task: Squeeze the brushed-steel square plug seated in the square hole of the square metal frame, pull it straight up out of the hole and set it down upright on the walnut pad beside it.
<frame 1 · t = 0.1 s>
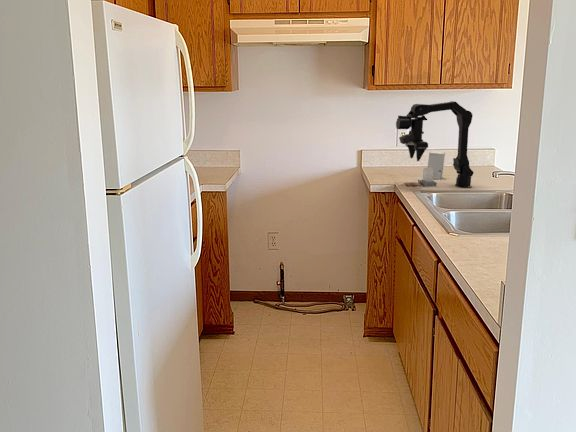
hand: (414, 159, 290), 15 cm above the countertop, tool pointing down, fingers open, 9 cm apart
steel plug: (427, 176, 299), in the square metal frame
walnut pad: (412, 185, 299), on the countertop
skincare box: (434, 178, 320), on the countertop
square metal frame: (427, 184, 300), on the countertop
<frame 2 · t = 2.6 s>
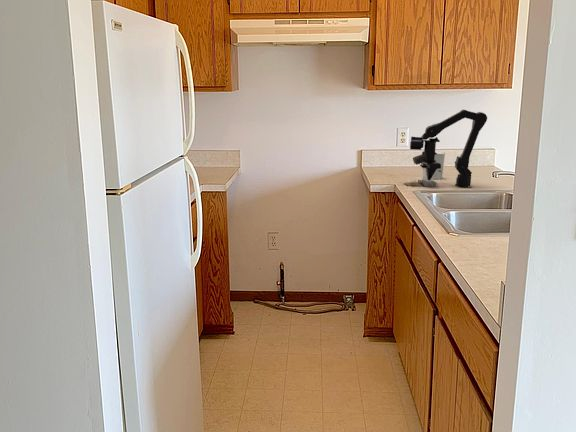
hand: (427, 179, 299), 3 cm above the countertop, tool pointing down, fingers closed on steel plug, 4 cm apart
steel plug: (427, 176, 299), in the square metal frame, touching gripper
everything else where it was.
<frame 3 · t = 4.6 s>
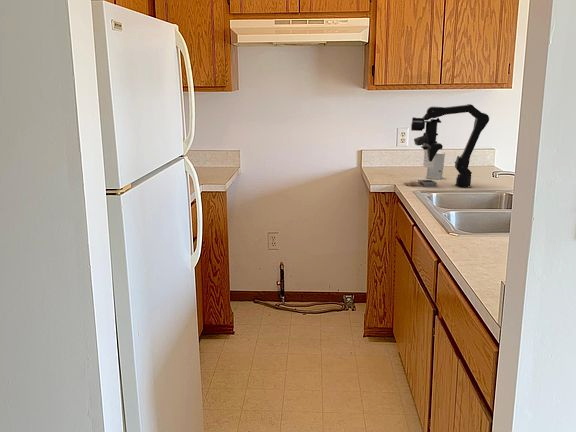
hand: (428, 160, 297), 13 cm above the countertop, tool pointing down, fingers closed on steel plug, 4 cm apart
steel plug: (429, 158, 297), point 14 cm above the countertop, touching gripper
everything else where it was.
when the fingers open (5 cm above the countertop, at t = 7.0 s): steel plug drops 1 cm, resting on walnut pad.
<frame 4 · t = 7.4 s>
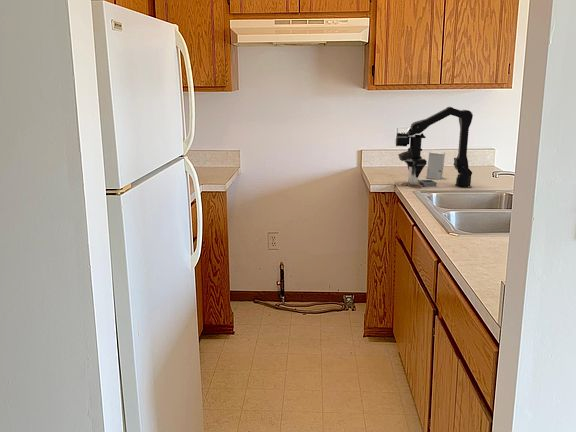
hand: (413, 175, 298), 5 cm above the countertop, tool pointing down, fingers open, 9 cm apart
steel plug: (413, 175, 298), on the walnut pad, point 5 cm above the countertop
everything else where it was.
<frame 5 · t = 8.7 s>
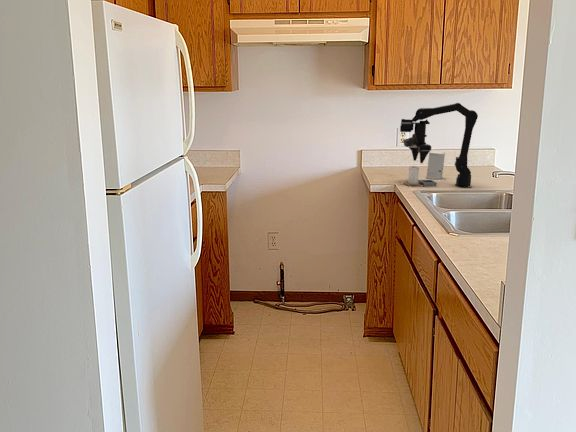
hand: (418, 161, 300), 12 cm above the countertop, tool pointing down, fingers open, 9 cm apart
nothing on the countertop moved.
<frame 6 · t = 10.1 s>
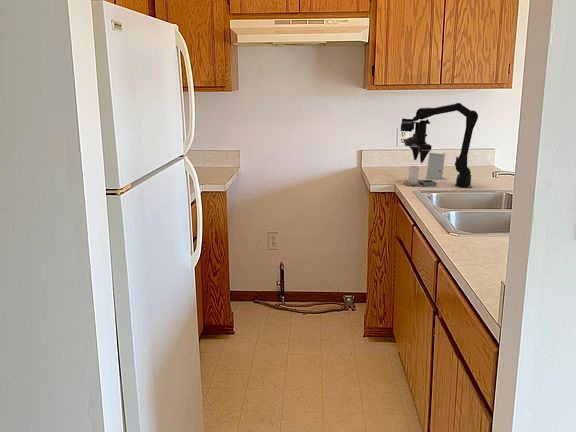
hand: (418, 161, 301), 12 cm above the countertop, tool pointing down, fingers open, 9 cm apart
nothing on the countertop moved.
at the end: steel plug 0.0 cm off-centre on the walnut pad, point 5.3 cm above the walnut pad's base; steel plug tilted 0°; the gripper is holding nothing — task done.
